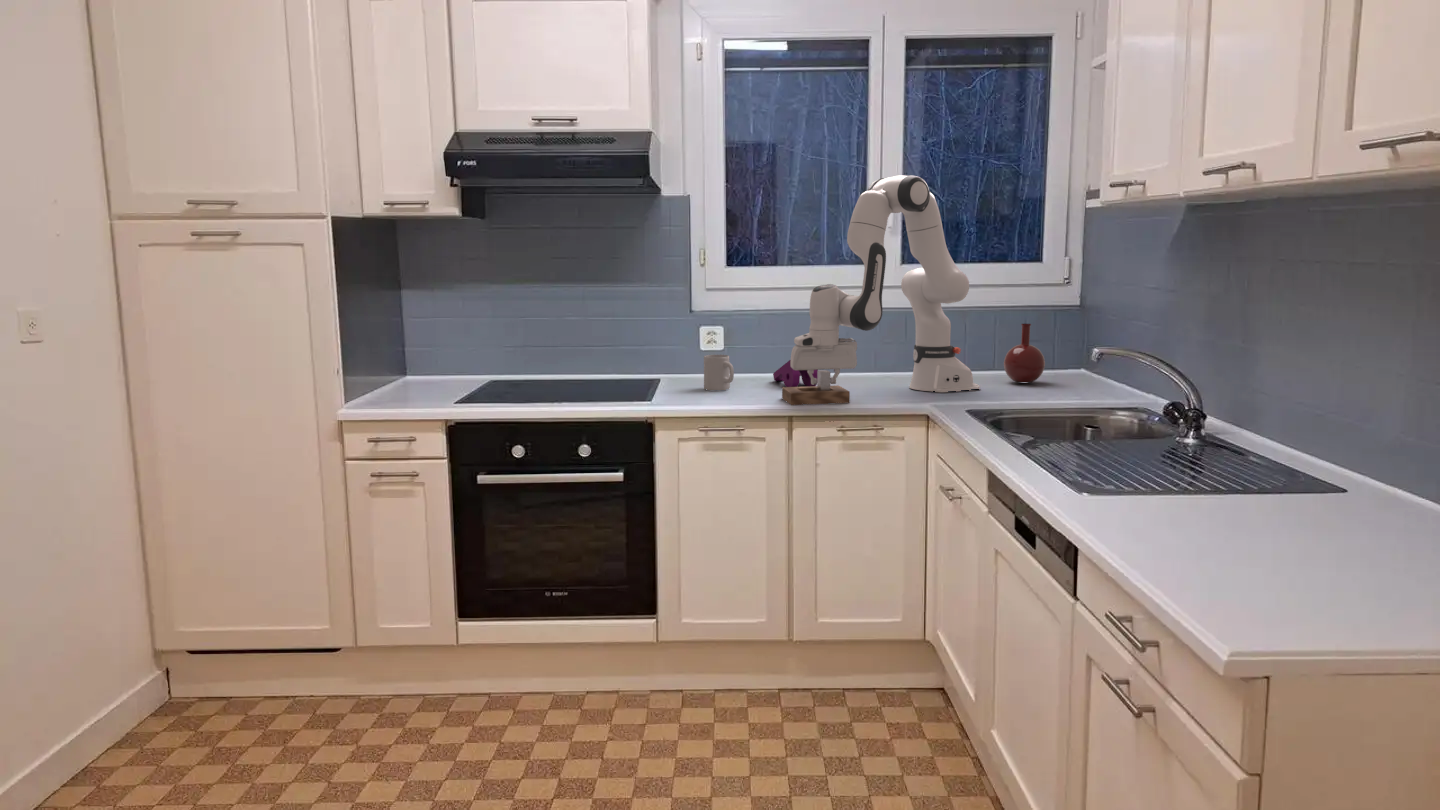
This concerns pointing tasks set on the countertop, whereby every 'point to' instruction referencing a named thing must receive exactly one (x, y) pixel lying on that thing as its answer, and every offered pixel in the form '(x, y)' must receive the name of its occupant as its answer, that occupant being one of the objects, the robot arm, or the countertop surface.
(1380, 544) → the countertop surface
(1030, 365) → the round-bottom flask
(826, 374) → the angle bracket
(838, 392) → the well block
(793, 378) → the mounting bracket
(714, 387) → the mug
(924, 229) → the robot arm
